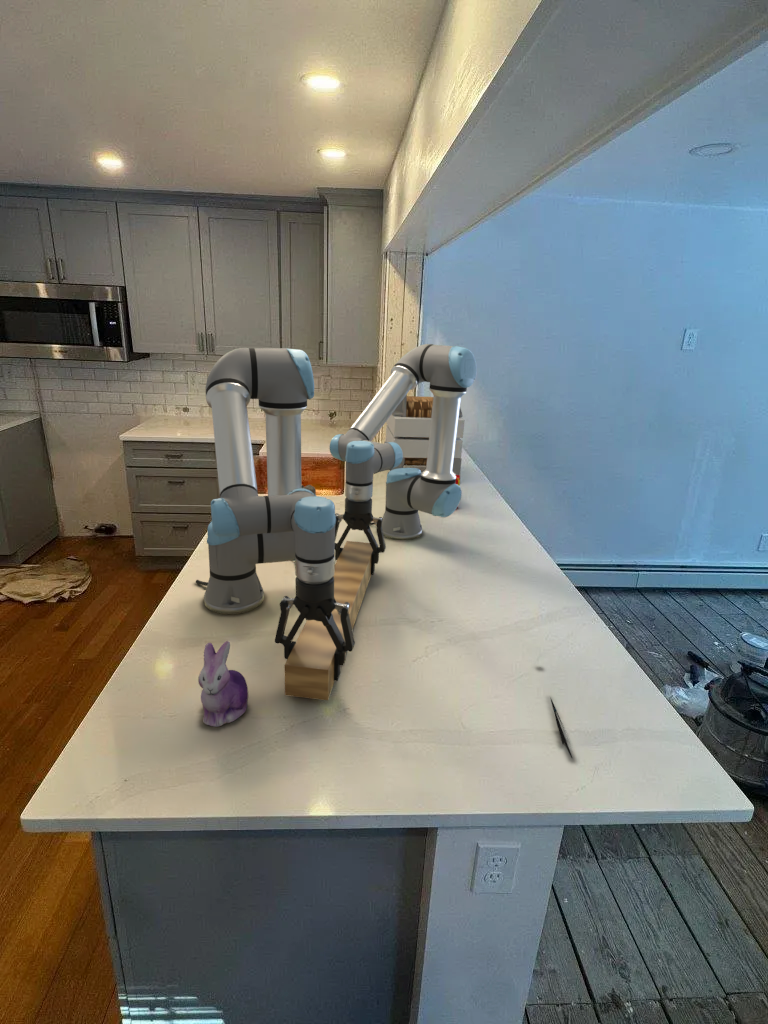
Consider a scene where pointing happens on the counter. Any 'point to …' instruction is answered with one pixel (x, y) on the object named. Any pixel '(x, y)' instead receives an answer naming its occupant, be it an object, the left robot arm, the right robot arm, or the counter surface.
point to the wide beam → (314, 646)
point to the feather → (560, 728)
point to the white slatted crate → (418, 432)
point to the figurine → (221, 688)
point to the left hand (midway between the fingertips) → (314, 674)
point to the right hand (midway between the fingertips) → (356, 571)
